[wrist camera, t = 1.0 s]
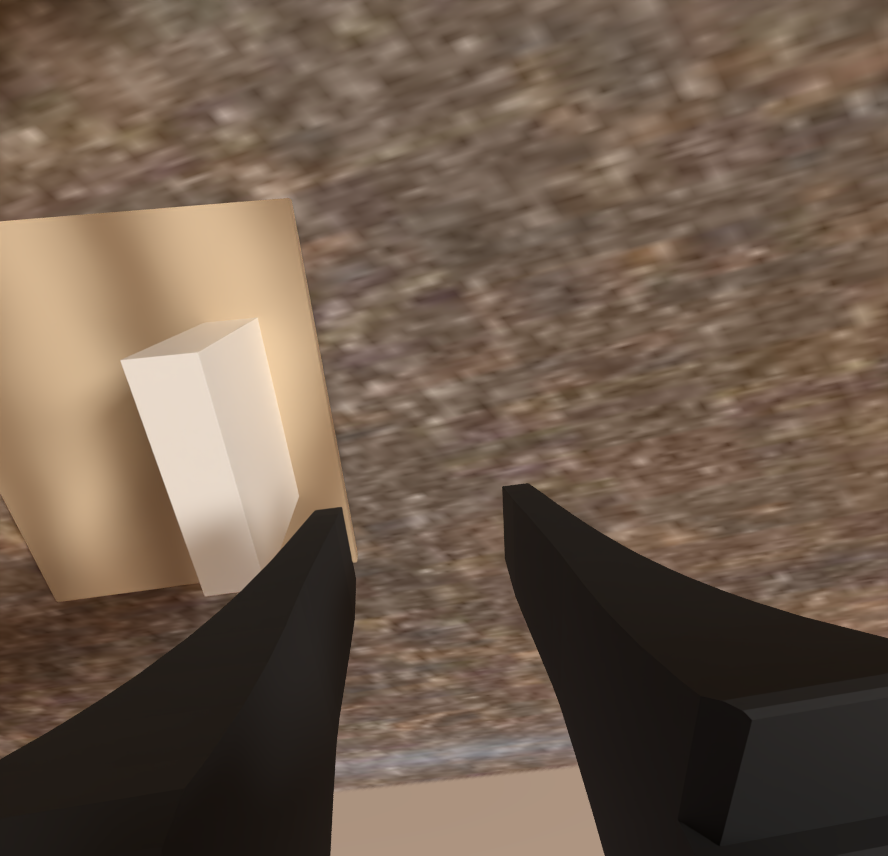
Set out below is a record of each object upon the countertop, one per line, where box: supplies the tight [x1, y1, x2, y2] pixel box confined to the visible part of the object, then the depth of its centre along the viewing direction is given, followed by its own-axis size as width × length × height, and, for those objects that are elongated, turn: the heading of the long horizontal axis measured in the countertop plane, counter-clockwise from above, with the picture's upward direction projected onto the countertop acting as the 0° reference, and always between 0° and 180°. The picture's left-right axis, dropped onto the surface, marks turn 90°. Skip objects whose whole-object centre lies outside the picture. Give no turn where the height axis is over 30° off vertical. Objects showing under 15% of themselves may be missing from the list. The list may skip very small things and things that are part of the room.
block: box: [120, 318, 299, 597], centre depth 17 cm, size 2×8×6 cm, turn 5°
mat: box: [0, 198, 358, 602], centre depth 19 cm, size 14×16×1 cm
